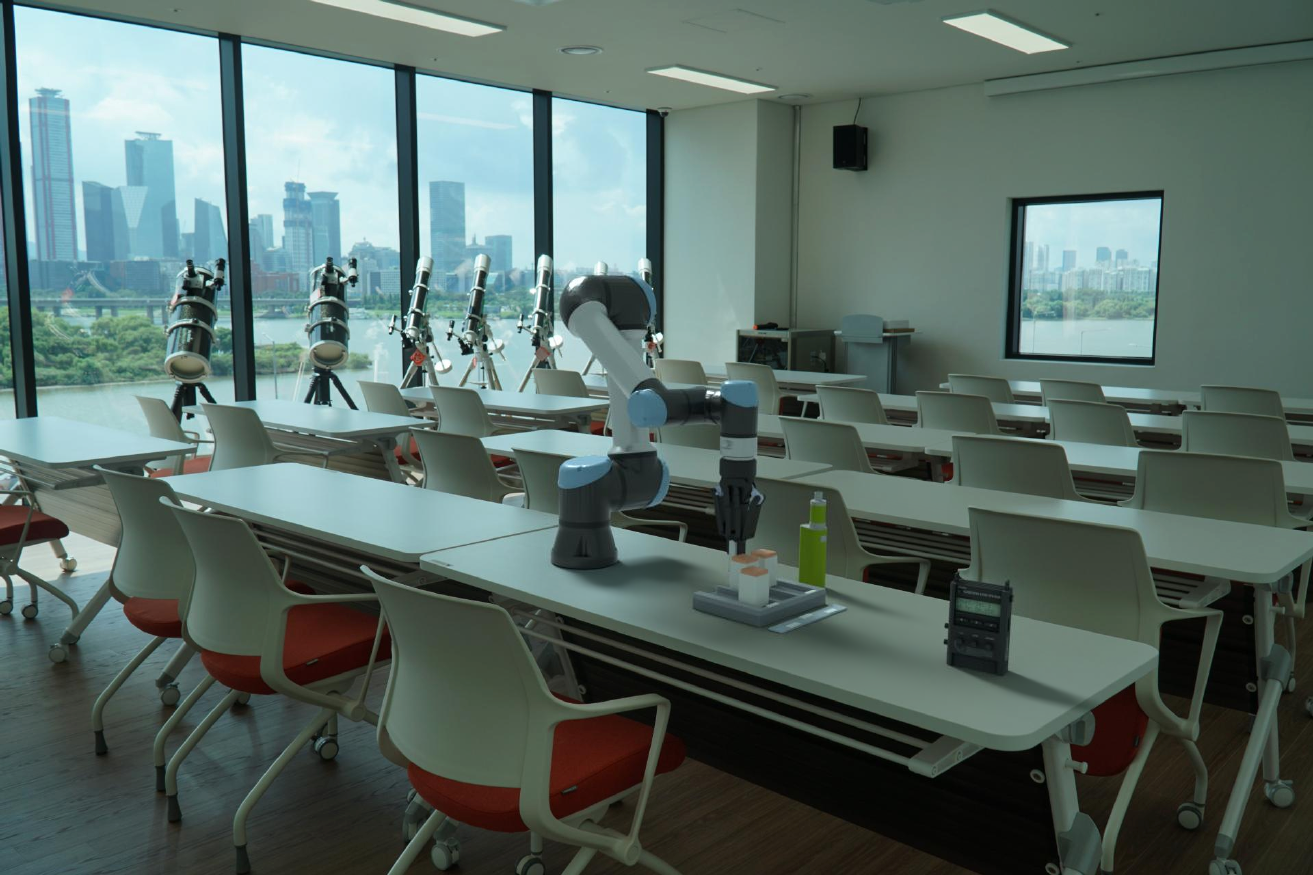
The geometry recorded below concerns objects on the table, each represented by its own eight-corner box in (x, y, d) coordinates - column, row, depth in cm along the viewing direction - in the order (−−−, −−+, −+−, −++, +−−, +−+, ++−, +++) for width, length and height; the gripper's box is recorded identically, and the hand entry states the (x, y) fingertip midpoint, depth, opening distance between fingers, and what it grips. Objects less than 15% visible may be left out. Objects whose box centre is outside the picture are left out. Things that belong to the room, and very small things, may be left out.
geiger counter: (938, 664, 162) (942, 574, 160) (946, 657, 166) (951, 569, 164) (1003, 678, 156) (1009, 585, 154) (1011, 670, 160) (1017, 579, 158)
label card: (768, 629, 179) (768, 627, 179) (833, 605, 194) (834, 603, 194) (782, 633, 177) (782, 631, 176) (847, 608, 192) (847, 606, 192)
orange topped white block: (738, 604, 186) (739, 568, 185) (751, 600, 189) (752, 565, 188) (755, 608, 183) (756, 572, 183) (768, 604, 186) (769, 569, 186)
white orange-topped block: (748, 584, 200) (749, 551, 199) (760, 580, 203) (761, 548, 202) (764, 588, 197) (765, 555, 196) (776, 584, 200) (777, 551, 199)
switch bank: (692, 608, 191) (693, 592, 190) (760, 587, 206) (760, 572, 206) (759, 627, 180) (760, 609, 180) (825, 603, 195) (825, 587, 195)
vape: (816, 590, 204) (819, 494, 201) (795, 584, 209) (798, 490, 206) (828, 587, 206) (832, 492, 204) (807, 581, 211) (810, 488, 208)
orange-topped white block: (729, 590, 195) (730, 556, 194) (742, 586, 198) (743, 553, 197) (745, 594, 193) (746, 560, 192) (758, 590, 195) (759, 556, 195)
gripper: (701, 455, 203) (699, 568, 206) (752, 462, 194) (749, 580, 197) (725, 452, 208) (722, 562, 211) (775, 458, 200) (772, 573, 203)
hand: (735, 571), depth 204 cm, fingers closed
